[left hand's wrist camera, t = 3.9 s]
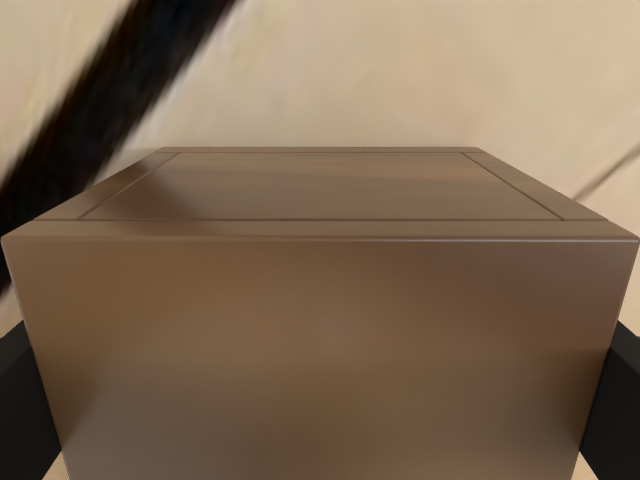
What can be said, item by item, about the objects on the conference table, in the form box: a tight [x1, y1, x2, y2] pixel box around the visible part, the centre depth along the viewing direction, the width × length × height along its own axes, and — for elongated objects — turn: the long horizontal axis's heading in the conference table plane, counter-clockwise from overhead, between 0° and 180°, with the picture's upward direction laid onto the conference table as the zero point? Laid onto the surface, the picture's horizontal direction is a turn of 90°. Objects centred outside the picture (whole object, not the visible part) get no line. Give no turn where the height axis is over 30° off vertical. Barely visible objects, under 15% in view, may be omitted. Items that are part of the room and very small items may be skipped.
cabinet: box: [1, 148, 640, 480], centre depth 15 cm, size 20×11×9 cm, turn 0°
